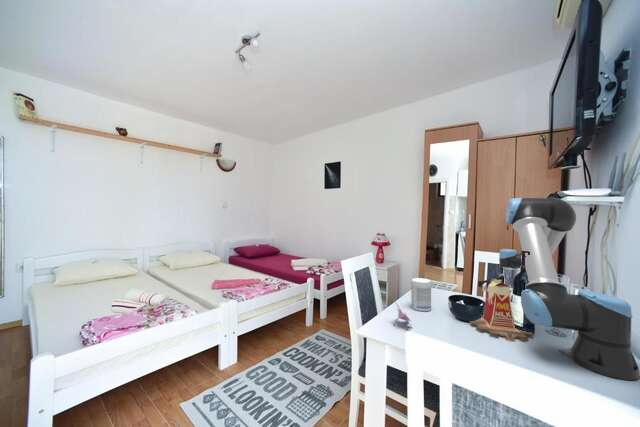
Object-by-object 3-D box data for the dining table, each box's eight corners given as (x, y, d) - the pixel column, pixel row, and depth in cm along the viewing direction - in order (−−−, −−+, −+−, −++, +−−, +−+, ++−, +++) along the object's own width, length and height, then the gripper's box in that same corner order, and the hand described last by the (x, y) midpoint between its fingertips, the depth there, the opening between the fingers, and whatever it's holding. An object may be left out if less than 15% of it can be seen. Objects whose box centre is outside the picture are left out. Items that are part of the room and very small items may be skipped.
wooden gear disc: (544, 345, 97) (544, 337, 97) (478, 337, 103) (478, 329, 103) (517, 321, 118) (517, 314, 118) (463, 315, 124) (464, 309, 124)
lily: (409, 337, 104) (419, 315, 105) (382, 320, 109) (392, 300, 110) (409, 333, 115) (418, 314, 116) (384, 318, 120) (394, 300, 121)
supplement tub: (434, 309, 132) (435, 280, 131) (424, 313, 126) (424, 283, 126) (417, 303, 139) (418, 276, 139) (407, 307, 134) (407, 279, 134)
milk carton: (515, 330, 105) (516, 281, 105) (490, 327, 107) (490, 280, 107) (505, 321, 114) (505, 276, 114) (482, 318, 116) (482, 274, 116)
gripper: (537, 294, 124) (537, 306, 107) (477, 284, 140) (469, 294, 124) (537, 279, 124) (537, 289, 107) (477, 270, 140) (469, 278, 124)
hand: (501, 291), depth 115 cm, fingers open, 13 cm apart
